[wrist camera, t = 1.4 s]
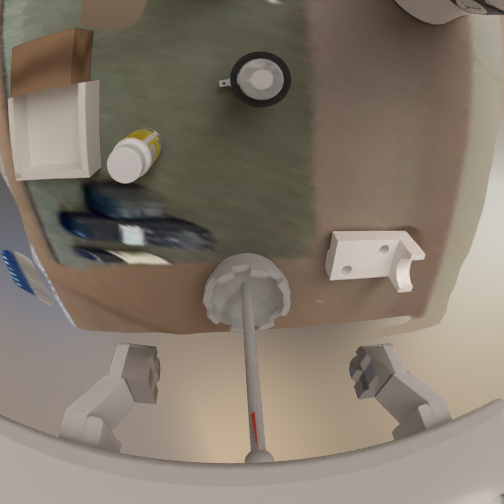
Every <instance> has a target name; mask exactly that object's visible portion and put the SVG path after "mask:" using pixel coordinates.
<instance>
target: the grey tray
mask: <svg viewBox="0 0 504 504" xmlns="http://www.w3.org/2000/svg"><path fill="white" fill-rule="evenodd" d="M99 89H100V80H96V81H89V82H82V83H76V84H70V85H64V86H59V87H54V88H49V89H44V90H40V91H35V92H31V93H27V94H23V95H20V96H16V97H12V98H9V99H8V112H9V128H10V139H11V148H12V156H13V163H14V170H15V176H16V181H22V180H39V179H61V178H90V177H91V176H92V175H93V174H94V173H95V172H96V171H98V170H99V169H100V168H101V153H100V129H99Z"/></svg>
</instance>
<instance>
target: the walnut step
mask: <svg viewBox="0 0 504 504" xmlns="http://www.w3.org/2000/svg"><path fill="white" fill-rule="evenodd" d="M92 40H93V31H89V30H84V29H78V28H72V29H68V30H65V31H61V32H57V33H54V34H50V35H47V36H44V37H40V38H37V39H34V40H31V41H29V42H26V43H23V44H20V45H18V46H15V47H13V49H12V63H11V98H12V97H16V96H20V95H23V94H27V93H31V92H35V91H40V90H44V89H49V88H54V87H59V86H64V85H70V84H76V83H82V82H89V81H90V65H91V51H92Z"/></svg>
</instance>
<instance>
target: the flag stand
mask: <svg viewBox="0 0 504 504" xmlns="http://www.w3.org/2000/svg"><path fill="white" fill-rule="evenodd" d="M290 294H291V292H290V288H289V284H288V281H287V279H286V277H285V275H284V274H283V273H282V272H281V271H280V270H279V269H277V267H276V266H275V265H274V263H273V262H272V261H270V260H269V259H267V258H265V257H263V256H261V255H257V254H251V253H242V254H237V255H233V256H230V257H228V258H226V259H225V260H223V261H222V262H220V263H219V264H218V265H217V267H216V268H215V270H214V272H213V273H212V274H211V275H210V277H209V278H208V280H207V281H206V284H205V287H204V296H203V304H204V305H205V307H206V309H207V317H208V318H209V319H210V320H211V321H212V322H213V323H214V324H216V325H217V324H218V323H220V322H222V323H224V324H226V325H229V331H232V332H238V333H244V348H245V365H246V381H247V398H248V413H249V429H250V441H251V442H250V444H251V452H250V453H249V454H248V455H247V456H246V458H245V463H263V462H274V459H273V456H272V455H271V454H270V453H269V452H268V451H266V447H265V436H264V427H263V426H264V425H263V415H262V406H261V405H262V404H261V393H260V383H259V372H258V361H257V350H256V340H255V327H257V326H258V327H259V329H260V331H262V330H265V329H268V328H270V327H272V326H274V320H275V319H276V318H277V317H279V316H280V315H282V316H286V315H287V313H288V312H289V309H290V307H291V302H290Z"/></svg>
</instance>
